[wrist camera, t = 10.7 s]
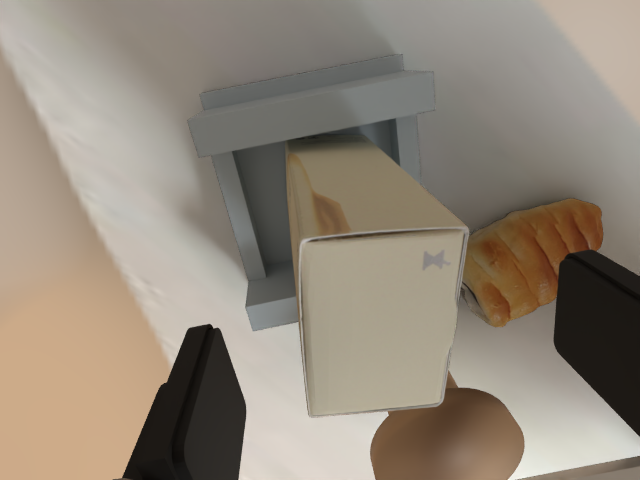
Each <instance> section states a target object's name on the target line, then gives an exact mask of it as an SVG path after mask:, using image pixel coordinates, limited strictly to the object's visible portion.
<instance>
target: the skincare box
mask: <svg viewBox="0 0 640 480" xmlns="http://www.w3.org/2000/svg"><path fill="white" fill-rule="evenodd" d="M285 166H286V189H287V205H288V215H289V226H290V237H291V248H292V258H293V267H294V277H295V287H296V298H297V309H298V319H299V330H300V341H301V352H302V362H303V372H304V382H305V391H306V400H307V409H308V415H309V416H310V417H312V418H314V417H325V416H335V415H349V414H359V413H373V412H383V411H396V410H407V409H417V408H428V407H437V406H439V405H440V404H441V403H442V402H443V399H444V393H445V387H446V381H447V375H448V368H449V362H450V355H451V350H452V345H453V339H454V335H455V330H456V323H457V311H458V302H459V296H460V289H461V283H462V275H463V268H464V262H465V256H466V249H467V242H468V237H469V228H468V227H467V226H466V225H465V224H464V223H463V222H462V221H461V220H460V219H459V218H458V217H456V216H455V215H454V214H453V213H452V212H451V211H449V210H448V209H447V208H446V207H445V206H444V205H443V204H442V203H440V202H439V201H438V200H437V199H436V198H435V197H434V196H433V195H431V194H430V193H429V192H428V191H427V190H426V189H425V188H424V187H423V186H421V185H420V184H419V183H418V182H417V181H416V180H415V179H413V178H412V177H411V176H410V175H409V174H408V173H407V172H406V171H404V170H403V169H402V168H401V167H400V166H399V165H397V164H396V163H395V162H394V161H393V160H392V159H391V158H390V157H389V156H387V155H386V154H385V153H384V152H383V151H382V150H381V149H380V148H379V147H377V146H376V145H375V144H374V143H373V142H372V141H371V140H370V139H368V138H367V137H366V136H365V135H320V136H305V137H300V138H295V139H290V140H286V141H285Z"/></svg>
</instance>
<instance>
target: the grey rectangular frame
mask: <svg viewBox="0 0 640 480" xmlns="http://www.w3.org/2000/svg"><path fill="white" fill-rule="evenodd" d="M200 98H201V101H202V105H203V108H204V111H202V112H200V113H199V114H197V115H195V116H194V117H192V118H191V119H189V120H187V121H188V125H189V128H190V131H191V134H192V137H193V141H194V144H195V147H196V150H197V153H198V157H199V158H200V157H205V156H210V155H211V157H212V160H213V164H214V167H215V170H216V174H217V177H218V181H219V184H220V187H221V191H222V194H223V197H224V201H225V204H226V207H227V211H228V214H229V218H230V221H231V224H232V228H233V231H234V234H235V238H236V241H237V244H238V248H239V251H240V255H241V258H242V261H243V265H244V268H245V271H246V275H247V278H248V281H249V282H248V290H247V298H246V306H245V308H246V311H247V314H248V317H249V320H250V324H251V327H252V330H253V331H257V330H262V329H267V328H272V327H276V326H281V325H286V324H290V323H295V322H299V319H298V309H297V298H296V287H295V277H294V267H293V258H292V248H291V237H290V226H289V215H288V205H287V189H286V166H285V141H286V140H290V139H295V138H300V137H305V136H320V135H365V136H366V137H367V138H368V139H370V140H371V141H372V142H373V143H374V144H375V145H376V146H377V147H379V148H380V149H381V150H382V151H383V152H384V153H385V154H386V155H387V156H389V157H390V158H391V159H392V160H393V161H394V162H395V163H396V164H397V165H399V166H400V167H401V168H402V169H403V170H404V171H406V172H407V173H408V174H409V175H410V176H411V177H412V178H413V179H415V180H416V181H417V182H418V183H419V184H420V185H421V172H420V158H419V144H418V130H417V116H416V114H419V113H424V112H429V111H434V110H435V94H434V74H433V72H430V71H404V69H403V57H402V54H397V55H392V56H387V57H382V58H377V59H372V60H366V61H361V62H356V63H351V64H346V65H341V66H336V67H331V68H326V69H321V70H316V71H311V72H306V73H301V74H296V75H291V76H285V77H280V78H275V79H270V80H265V81H260V82H255V83H250V84H245V85H240V86H235V87H230V88H225V89H220V90H215V91H210V92H204V93H201V94H200Z"/></svg>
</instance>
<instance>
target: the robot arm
mask: <svg viewBox="0 0 640 480" xmlns="http://www.w3.org/2000/svg"><path fill="white" fill-rule="evenodd" d="M554 345H555V348H556V350H557V352H558V353H559V354H560V355H561V356H562V357H563V358H564V359H565V360H566V361H567V362H568V363H569V364H570V365H571V366H572V368H573V369H574V370H575V371H576V372H577V373H578V374H579V375H580V376H581V377H582V378H583V379H584V380H585V381H586V382H587V383H588V384H589V385H590V386H591V387H592V388H593V389H594V390H595V391H596V392H597V393H598V394H599V395H600V396H601V397H602V398H603V399H604V400H605V401H606V402H607V404H608V405H609V406H610V407H611V408H612V409H613V410H614V411H615V412H616V413H617V414H618V415H619V416H620V417H621V418H622V419H623V420H624V421H625V422H626V423H627V424H628V425H629V426H630V427H631V428H632V429H633V430H634V431H635V432H636V433H637V434H638V435H639V436H640V276H638V275H636V274H635V273H633V272H631V271H629V270H628V269H626V268H624V267H622V266H621V265H619V264H617V263H615V262H614V261H612V260H610V259H609V258H607V257H605V256H603V255H602V254H600V253H598V252H596V251H594V250H592V249H590V250H584V251H579V252H573V253H569V254H567V255H566V256H565V258H564V260H562V261H561V262H560V264H559V274H558V288H557V301H556V315H555V328H554ZM245 421H246V404H245V400H244V397H243V394H242V391H241V388H240V385H239V382H238V380H237V377H236V374H235V371H234V368H233V365H232V362H231V359H230V356H229V353H228V350H227V348H226V345H225V342H224V339H223V336H222V333H221V331H220V329H219V328H214V329H213V327H212V325H211V324H207V325H202V326H197V327H192V328H189V329H188V330H187V332H186V335H185V338H184V340H183V343H182V345H181V348H180V350H179V353H178V355H177V358H176V360H175V363H174V365H173V368H172V371H171V373H170V376H169V378H168V381H167V383H164V384H163V385H161V387H160V388H159V390H158V392H157V394H156V397H155V399H154V402H153V404H152V407H151V409H150V412H149V414H148V416H147V419H146V421H145V424H144V426H143V428H142V431H141V434H140V436H139V438H138V441H137V443H136V446H135V448H134V450H133V453H132V455H131V458H130V460H129V462H128V465H127V467H126V470H125V472H124V475H123V477H122V478H121V479H113V480H238V478H239V469H240V461H241V453H242V445H243V437H244V429H245ZM517 480H640V456H637V457H631V458H626V459H621V460H616V461H610V462H605V463H600V464H595V465H589V466H584V467H579V468H574V469H568V470H563V471H558V472H553V473H548V474H543V475H538V476H532V477H527V478H522V479H517Z"/></svg>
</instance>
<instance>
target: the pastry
mask: <svg viewBox="0 0 640 480" xmlns="http://www.w3.org/2000/svg"><path fill="white" fill-rule="evenodd" d="M601 216H602V212H601V209H600V208H599V207H598V206H596V205H594V204H592V203H588V202H584V201H581V200H577V199H574V198H569V199H565V200H562V201H559V202H554V203H551V204H549V205H541V206H537V207H535V208H531V209H528V210H521V211H513V212H510V213H509V214H507V216H506V217H505V218H503V219H501V220H498V221H496V222H494V223H492V224H491V225H489V226H487V227H485V228H482V229H480V230H478V231H476V232H475V233H473V234H471V235H469V237H468V242H467V249H466V256H465V262H464V268H463V275H462V283H461V287H462V288H463V289H464V292H465V299H466V302H467V304H468V305H469V307H470V308H471V310H472V311H473V312H474V313H475V314H476V316H478V317H480V318H481V319H482V320H484V321H485V322H486V323H487V324H489V325H491V326H494V327H503V326H505V325H506V323H507V322H508V321H510V320H513V319H516V318H519V317H521V316H523V315H526V314H529V313H531V312H533V311H534V310H535V309H536V308H538V307H539V306H542V305H545V304H548V303H550V302H552V301H553V300H554V299H555V298H556V296H557V288H558V274H559V264H560V262H561V261H562V260H564V258H565V256H566V255H567V254H569V253H573V252H579V251H584V250H590V249H592V250H594V251H597V250H598V249H599V248H600V247H601V244H602V240H603V228H602V222H601Z"/></svg>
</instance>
